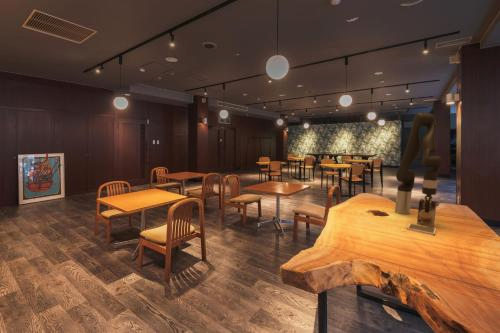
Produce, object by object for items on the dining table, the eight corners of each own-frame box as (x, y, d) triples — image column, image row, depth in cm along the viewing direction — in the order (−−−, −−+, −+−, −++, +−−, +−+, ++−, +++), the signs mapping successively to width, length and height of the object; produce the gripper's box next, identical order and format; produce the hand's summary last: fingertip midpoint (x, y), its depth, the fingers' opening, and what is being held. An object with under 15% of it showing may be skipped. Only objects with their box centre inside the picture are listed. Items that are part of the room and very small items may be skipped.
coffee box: (416, 224, 164) (418, 200, 162) (418, 221, 168) (420, 198, 166) (433, 227, 158) (435, 203, 156) (434, 225, 162) (437, 201, 160)
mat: (406, 229, 154) (406, 228, 153) (409, 224, 163) (409, 223, 163) (434, 235, 145) (434, 233, 145) (435, 229, 154) (436, 228, 154)
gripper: (423, 184, 168) (421, 207, 169) (421, 187, 157) (419, 212, 159) (437, 185, 163) (435, 209, 165) (436, 189, 152) (433, 214, 154)
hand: (427, 210), depth 162 cm, fingers open, 8 cm apart
